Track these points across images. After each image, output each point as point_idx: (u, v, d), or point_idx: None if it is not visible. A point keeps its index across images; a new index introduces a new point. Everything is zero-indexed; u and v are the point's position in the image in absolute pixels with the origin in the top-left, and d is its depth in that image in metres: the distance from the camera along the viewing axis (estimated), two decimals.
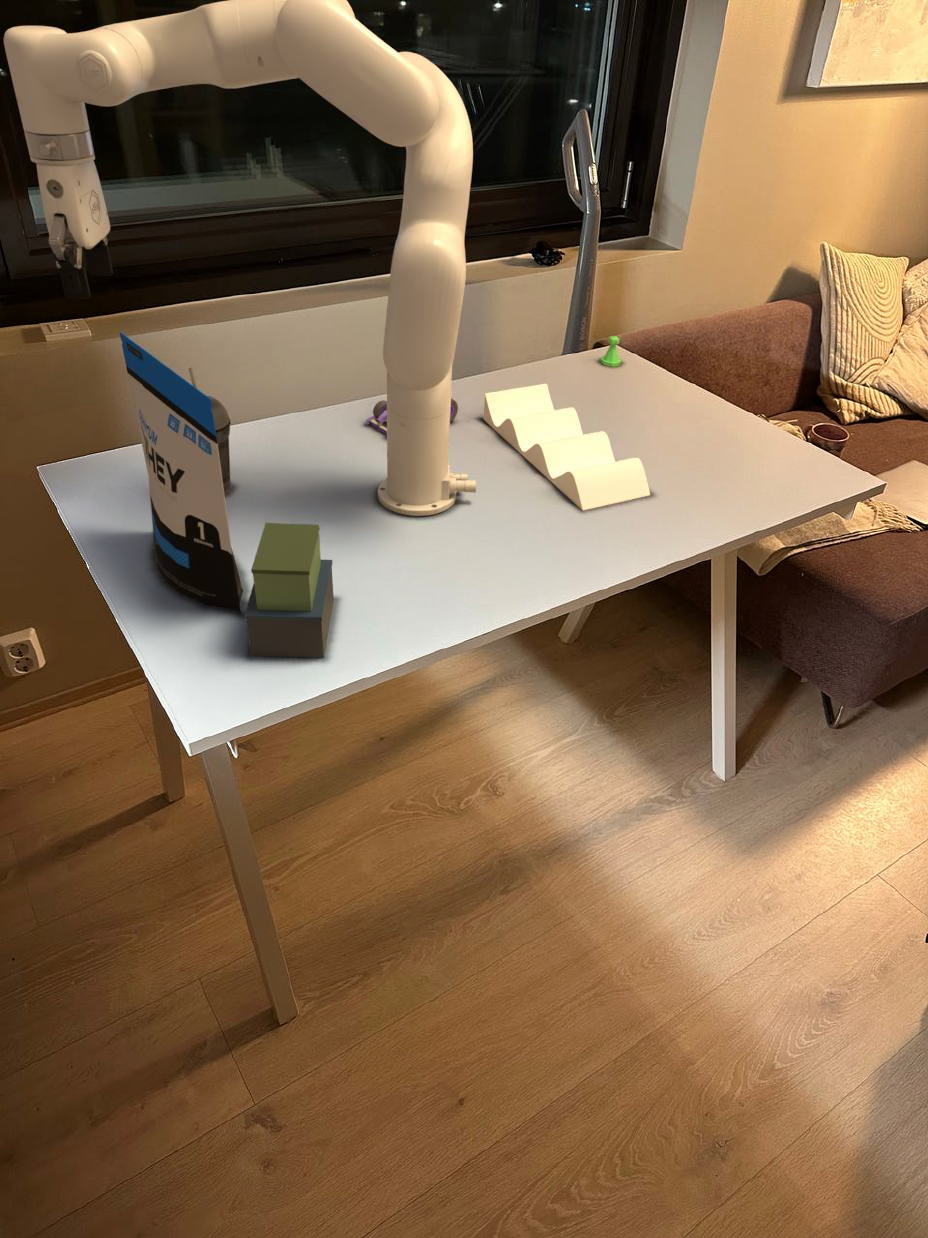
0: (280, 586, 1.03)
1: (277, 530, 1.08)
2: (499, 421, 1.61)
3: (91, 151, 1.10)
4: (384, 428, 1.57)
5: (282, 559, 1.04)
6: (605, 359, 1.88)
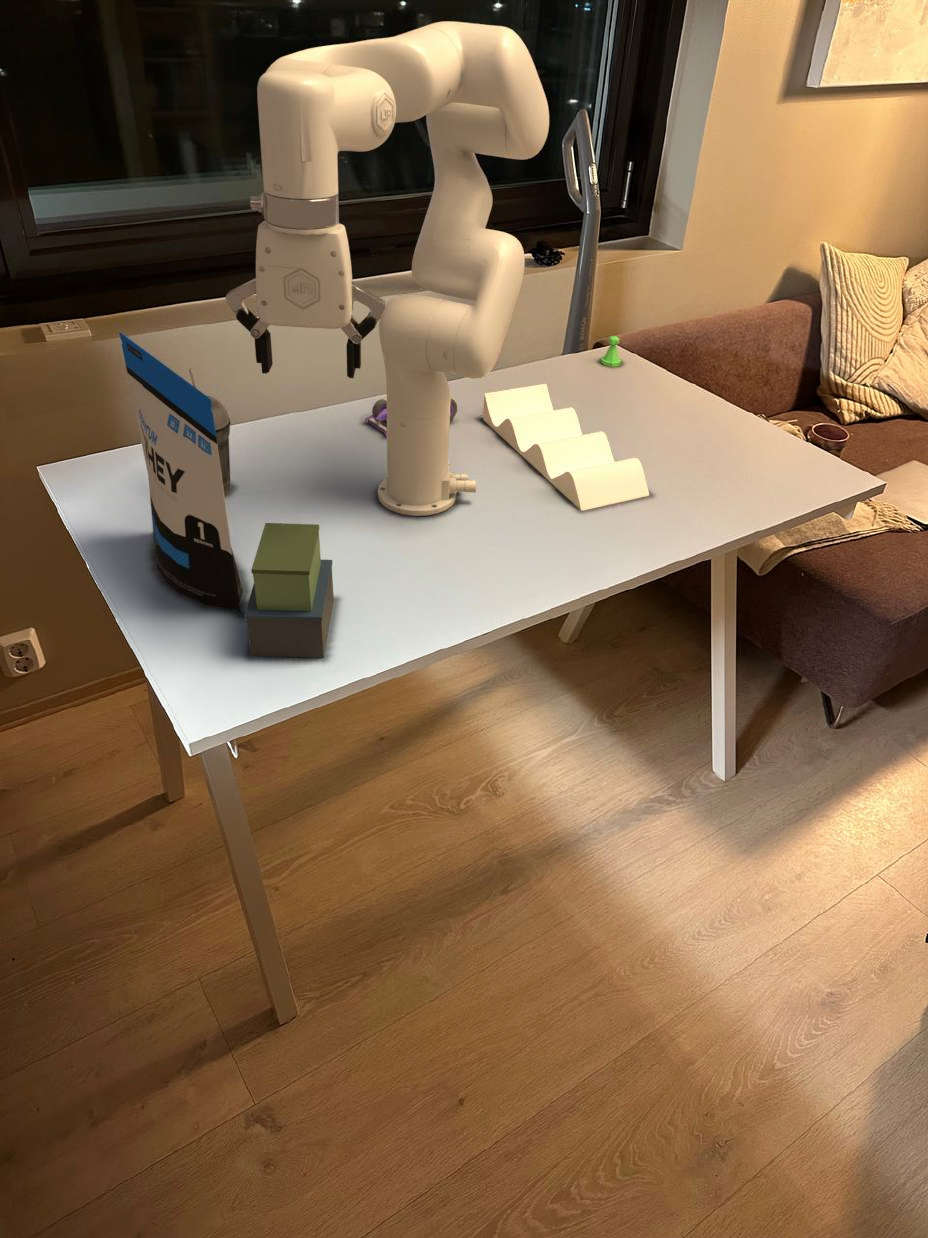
0: (280, 586, 1.03)
1: (277, 530, 1.08)
2: (499, 422, 1.61)
3: (296, 224, 0.88)
4: (382, 427, 1.58)
5: (282, 559, 1.04)
6: (605, 359, 1.88)
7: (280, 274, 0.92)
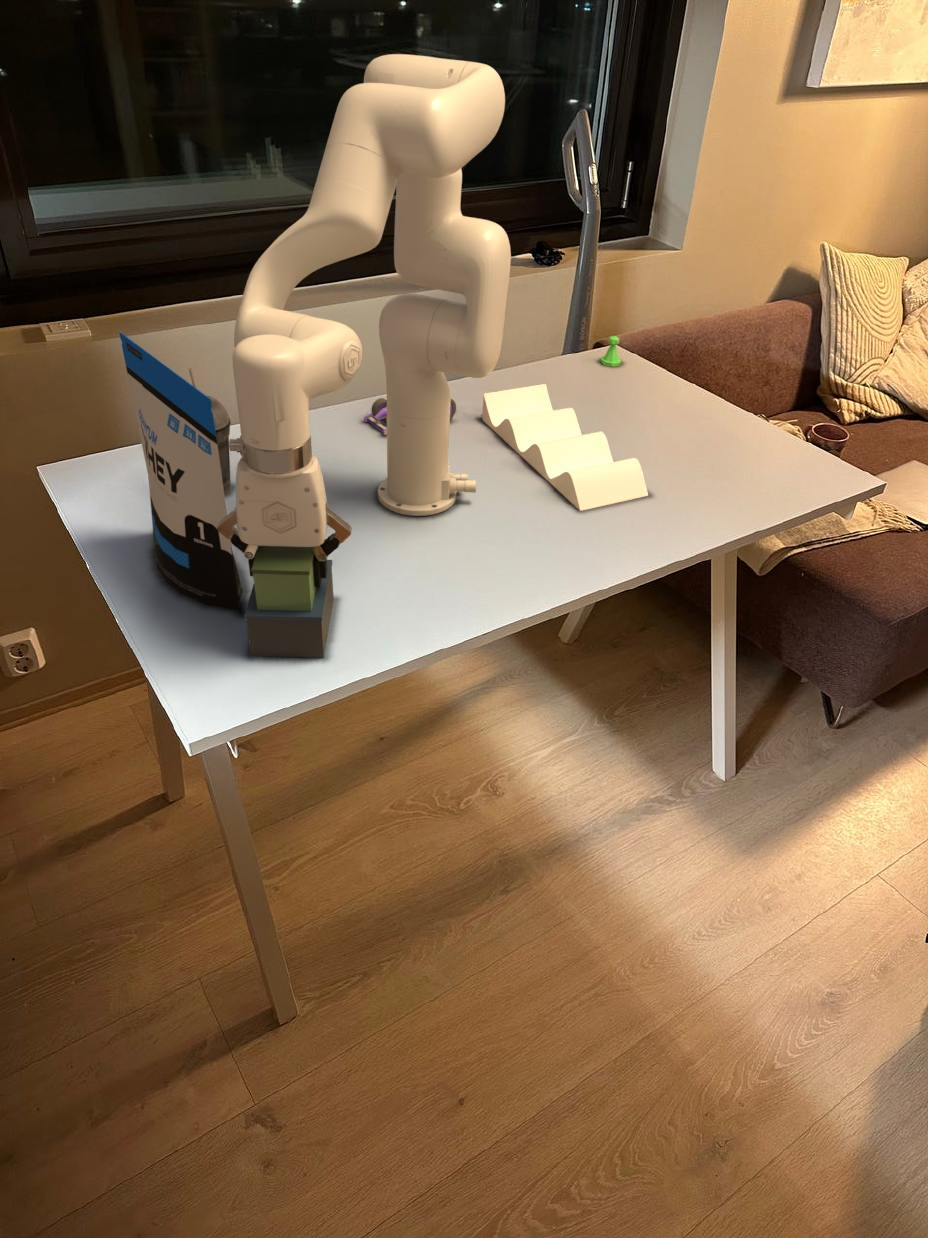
0: (280, 586, 1.03)
1: None
2: (498, 422, 1.61)
3: (271, 470, 0.95)
4: (381, 426, 1.58)
5: (282, 559, 1.04)
6: (605, 359, 1.88)
7: (258, 506, 0.99)
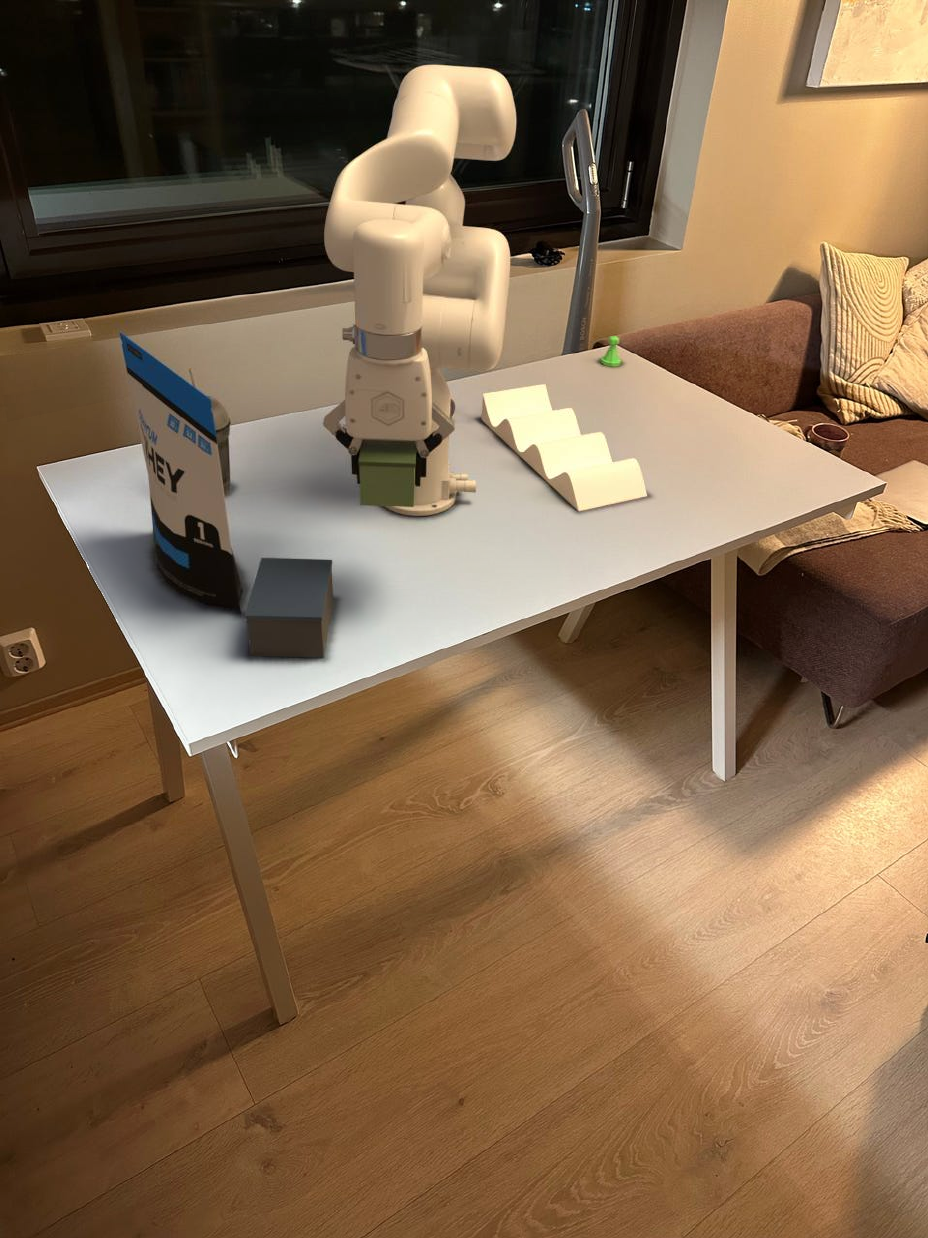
0: (385, 480, 1.05)
1: None
2: (497, 422, 1.61)
3: (386, 355, 0.97)
4: None
5: (387, 453, 1.05)
6: (605, 359, 1.88)
7: (368, 396, 1.01)
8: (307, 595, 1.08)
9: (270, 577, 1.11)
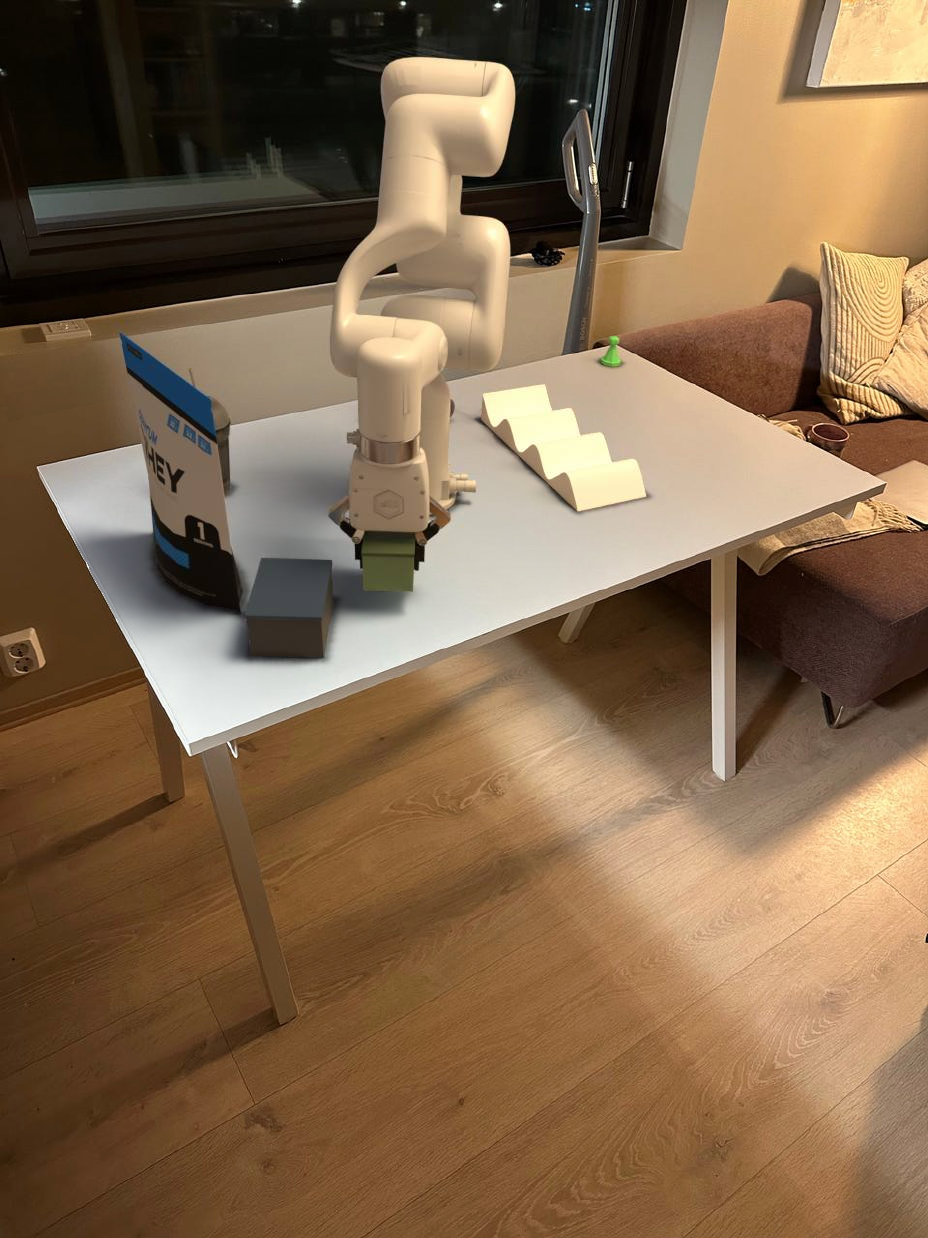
0: (386, 568, 1.13)
1: None
2: (497, 422, 1.61)
3: (387, 460, 1.05)
4: None
5: (388, 543, 1.13)
6: (605, 359, 1.88)
7: (371, 494, 1.09)
8: (307, 595, 1.08)
9: (270, 577, 1.11)
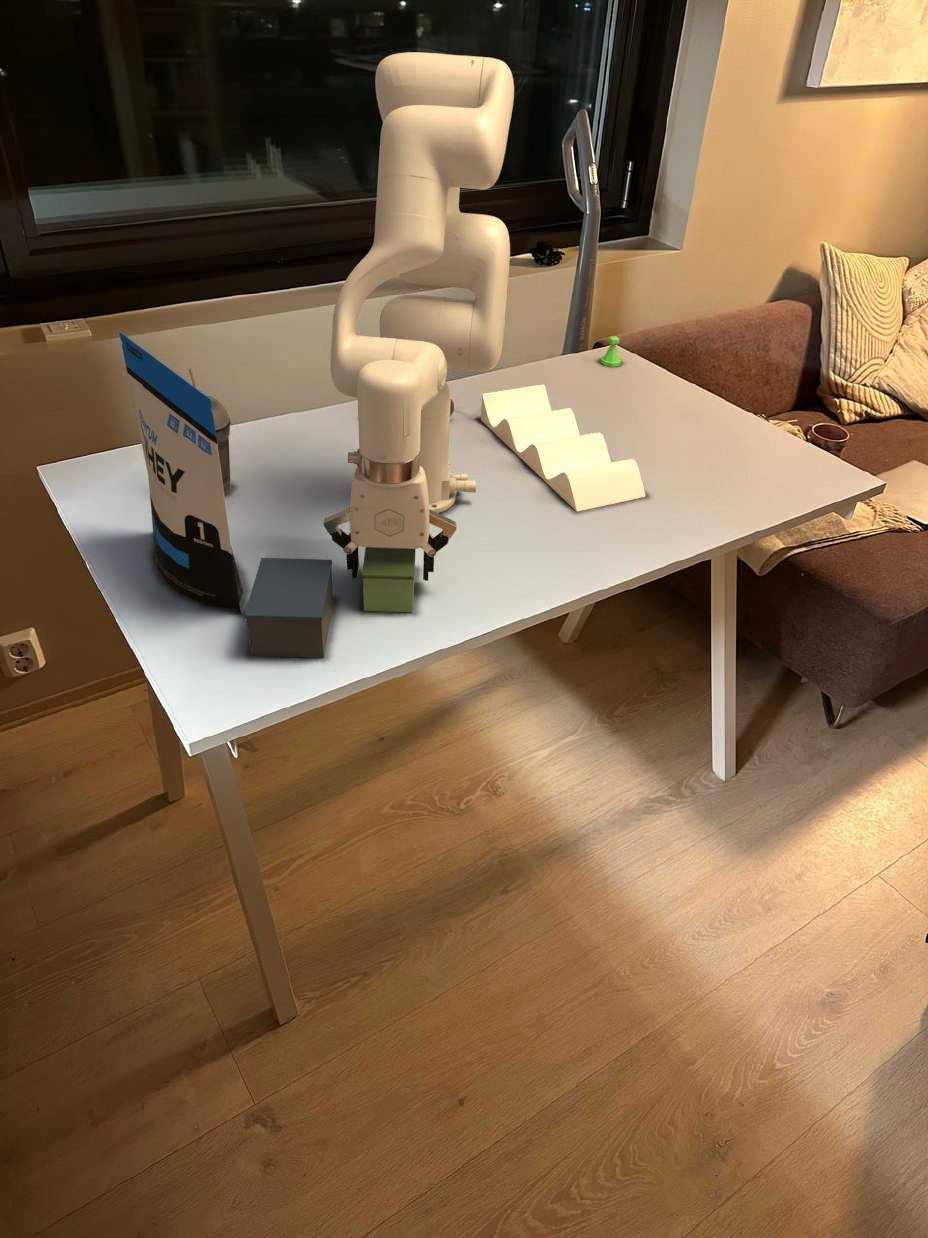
0: (386, 590, 1.15)
1: None
2: (496, 422, 1.61)
3: (387, 480, 1.07)
4: None
5: (388, 565, 1.15)
6: (605, 359, 1.88)
7: (371, 512, 1.11)
8: (307, 595, 1.08)
9: (270, 577, 1.11)
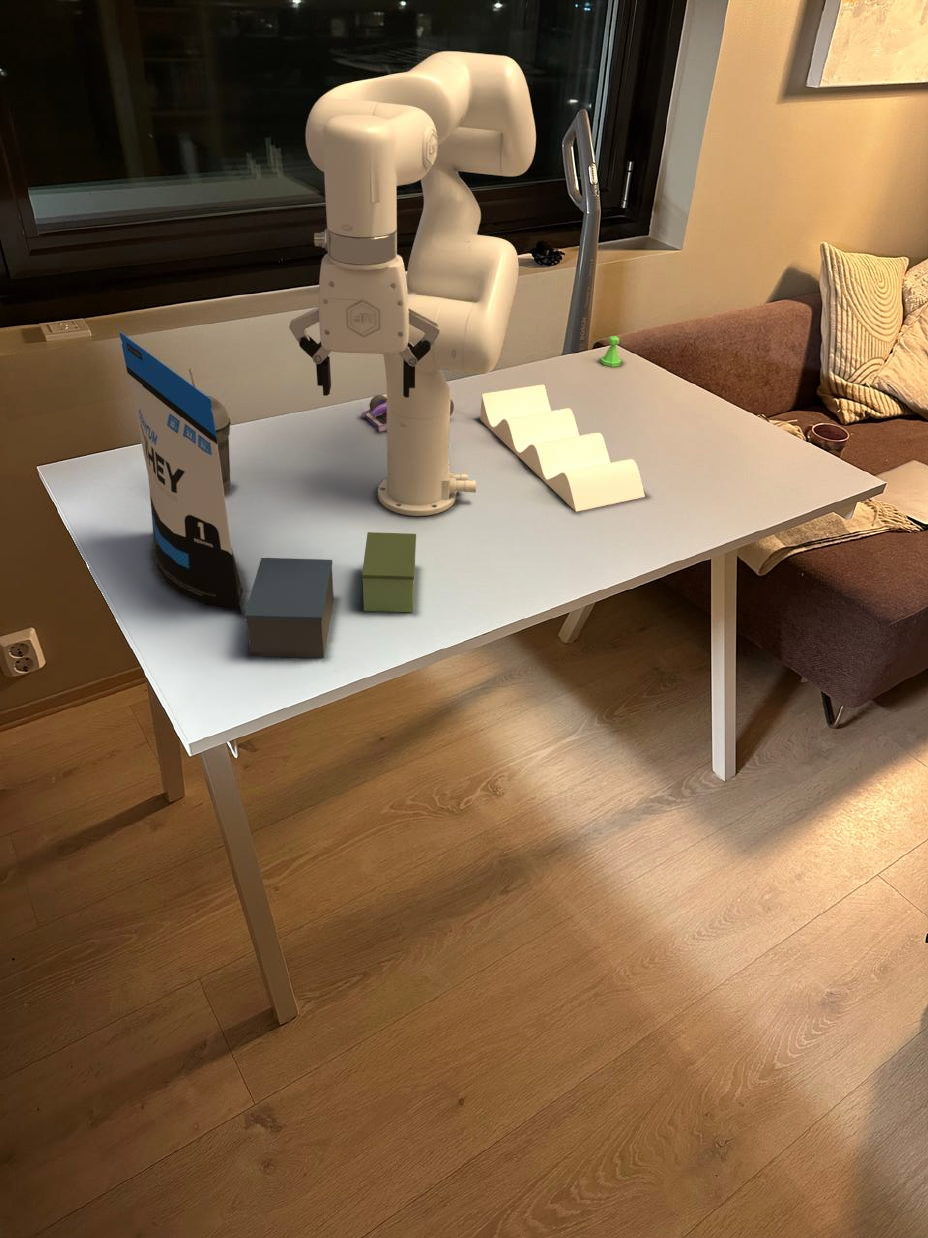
0: (386, 590, 1.15)
1: (379, 539, 1.20)
2: (496, 422, 1.61)
3: (359, 260, 0.94)
4: (377, 422, 1.59)
5: (388, 565, 1.15)
6: (605, 359, 1.88)
7: (343, 305, 0.98)
8: (307, 595, 1.08)
9: (270, 577, 1.11)
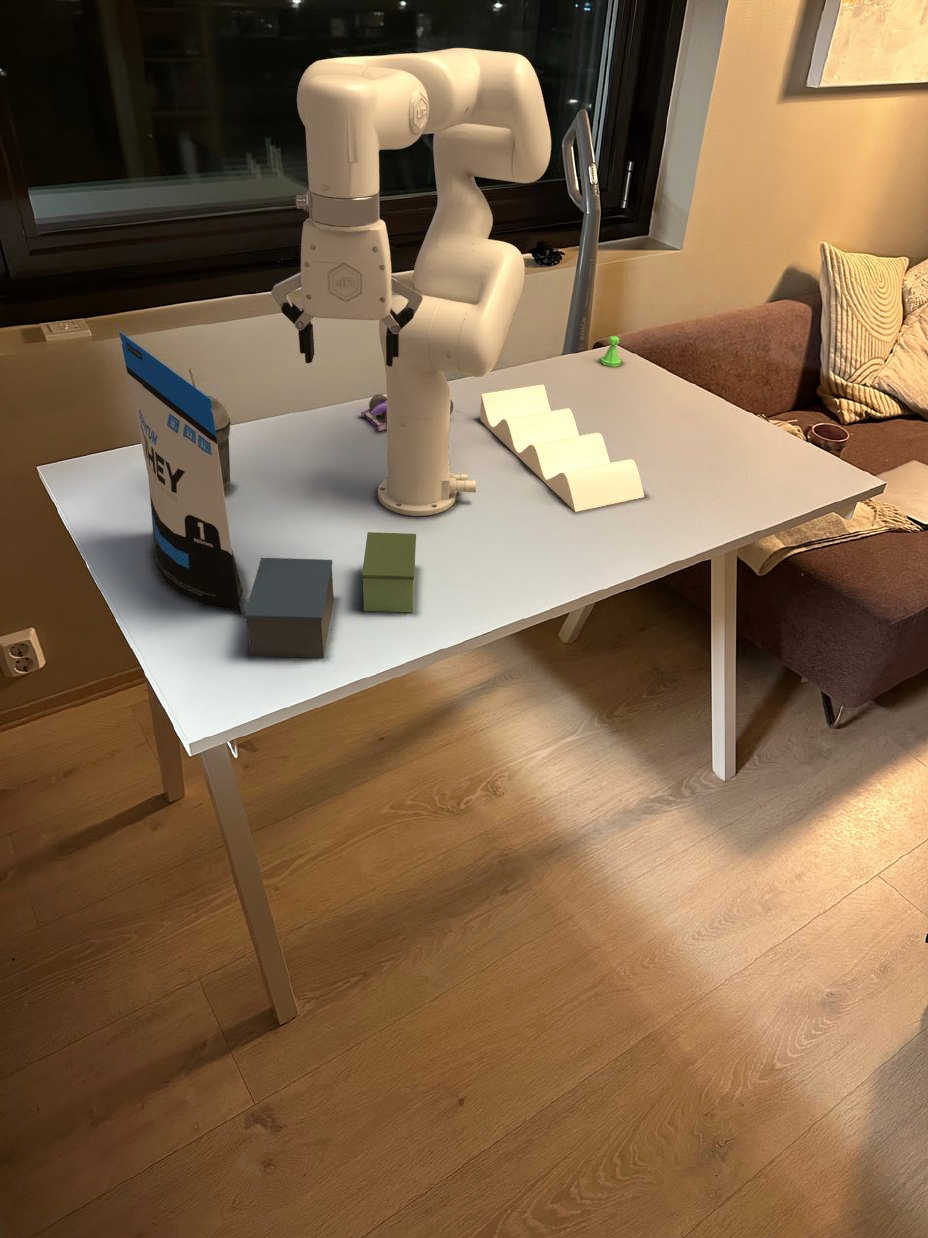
0: (386, 590, 1.15)
1: (379, 539, 1.20)
2: (496, 422, 1.61)
3: (340, 221, 0.93)
4: (376, 421, 1.59)
5: (388, 565, 1.15)
6: (605, 359, 1.88)
7: (324, 269, 0.97)
8: (307, 595, 1.08)
9: (270, 577, 1.11)
